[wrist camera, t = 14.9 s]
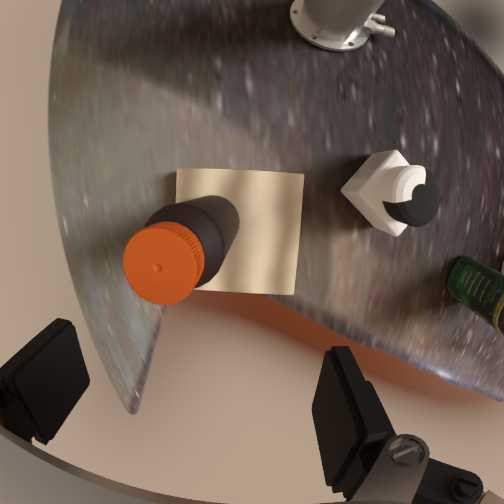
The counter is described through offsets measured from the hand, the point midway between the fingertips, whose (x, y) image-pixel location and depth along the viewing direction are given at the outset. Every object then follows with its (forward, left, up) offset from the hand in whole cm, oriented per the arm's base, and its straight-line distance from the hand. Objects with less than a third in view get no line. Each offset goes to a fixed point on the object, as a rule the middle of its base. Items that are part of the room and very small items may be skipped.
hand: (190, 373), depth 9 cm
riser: (0, 0, -31) cm, 31 cm away
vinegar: (+3, -1, -28) cm, 28 cm away
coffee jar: (-41, +6, -31) cm, 52 cm away
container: (-19, -7, -31) cm, 37 cm away
